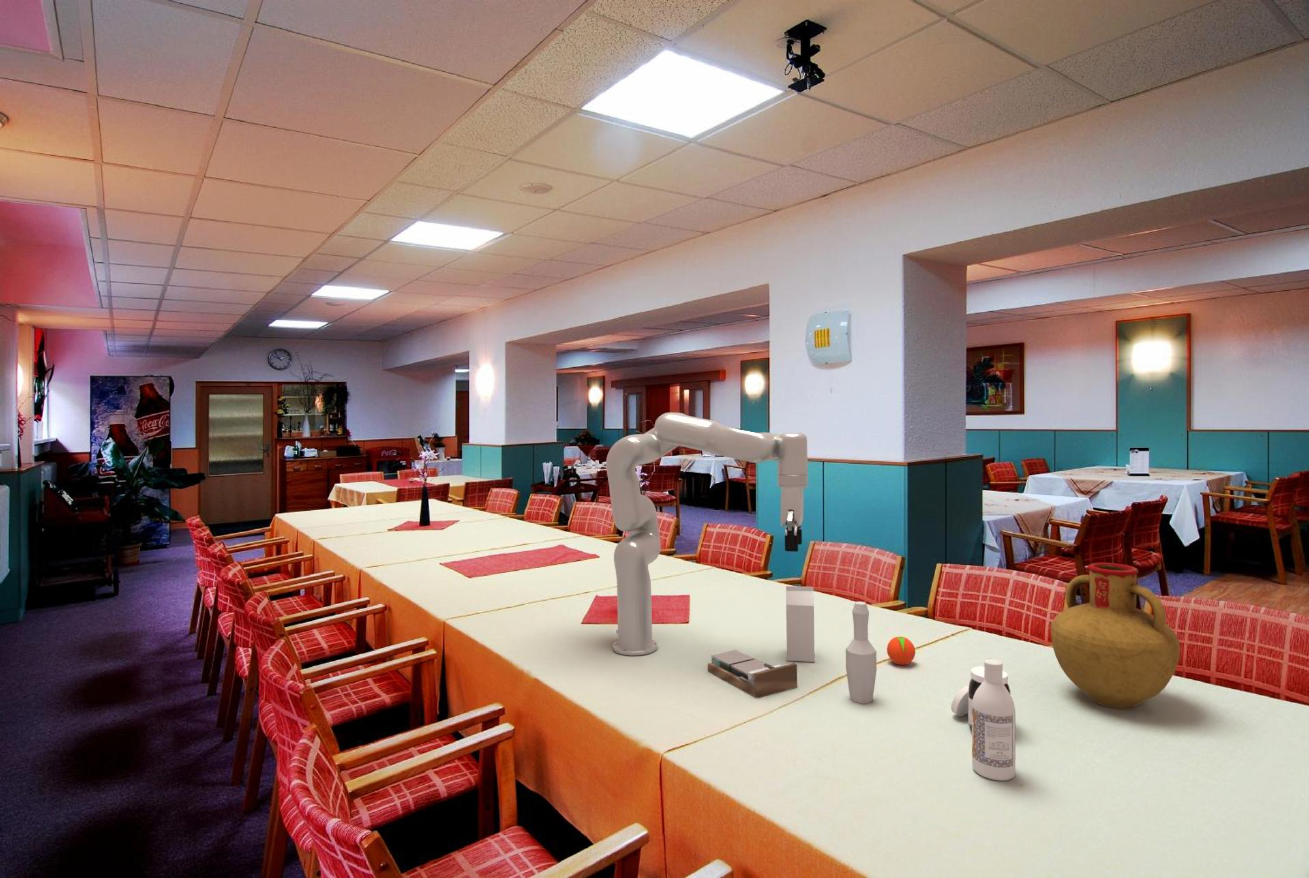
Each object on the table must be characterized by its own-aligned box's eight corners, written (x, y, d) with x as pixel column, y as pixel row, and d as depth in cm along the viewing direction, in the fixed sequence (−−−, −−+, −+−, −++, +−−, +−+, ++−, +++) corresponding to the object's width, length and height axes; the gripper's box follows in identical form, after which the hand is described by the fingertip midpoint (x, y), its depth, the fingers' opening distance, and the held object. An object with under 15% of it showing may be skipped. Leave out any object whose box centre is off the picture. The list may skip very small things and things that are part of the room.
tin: (711, 668, 177) (711, 655, 177) (735, 662, 181) (735, 649, 180) (729, 678, 170) (728, 664, 170) (753, 672, 174) (753, 658, 174)
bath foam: (978, 758, 128) (978, 652, 127) (1019, 770, 123) (1019, 660, 123) (967, 773, 123) (966, 662, 122) (1009, 786, 118) (1009, 671, 118)
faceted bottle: (861, 707, 151) (860, 608, 150) (840, 697, 157) (839, 601, 156) (882, 701, 154) (881, 604, 153) (861, 691, 160) (860, 597, 159)
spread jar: (1008, 743, 134) (1008, 684, 133) (946, 730, 140) (945, 673, 139) (1013, 719, 144) (1013, 664, 143) (955, 708, 150) (955, 655, 149)
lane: (707, 670, 174) (707, 649, 174) (745, 661, 180) (745, 640, 180) (757, 698, 157) (756, 673, 157) (797, 687, 163) (796, 663, 163)
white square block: (731, 679, 169) (730, 665, 169) (755, 672, 173) (755, 659, 173) (750, 689, 163) (749, 675, 163) (775, 682, 167) (774, 668, 167)
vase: (1026, 690, 158) (1026, 561, 158) (1095, 673, 168) (1095, 552, 167) (1133, 733, 137) (1134, 584, 136) (1205, 711, 146) (1206, 571, 145)
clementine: (918, 670, 172) (918, 642, 172) (889, 669, 173) (889, 641, 173) (912, 659, 180) (912, 632, 179) (885, 658, 181) (885, 631, 181)
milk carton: (814, 662, 179) (813, 590, 178) (786, 661, 180) (786, 589, 180) (813, 653, 186) (813, 583, 185) (787, 651, 187) (786, 582, 187)
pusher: (748, 688, 162) (748, 672, 162) (779, 680, 167) (778, 664, 166) (751, 690, 161) (751, 673, 161) (782, 682, 166) (782, 665, 165)
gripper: (782, 478, 185) (783, 541, 185) (773, 484, 168) (774, 553, 169) (810, 478, 183) (811, 542, 183) (804, 484, 166) (805, 554, 167)
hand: (793, 547), depth 176 cm, fingers open, 9 cm apart
